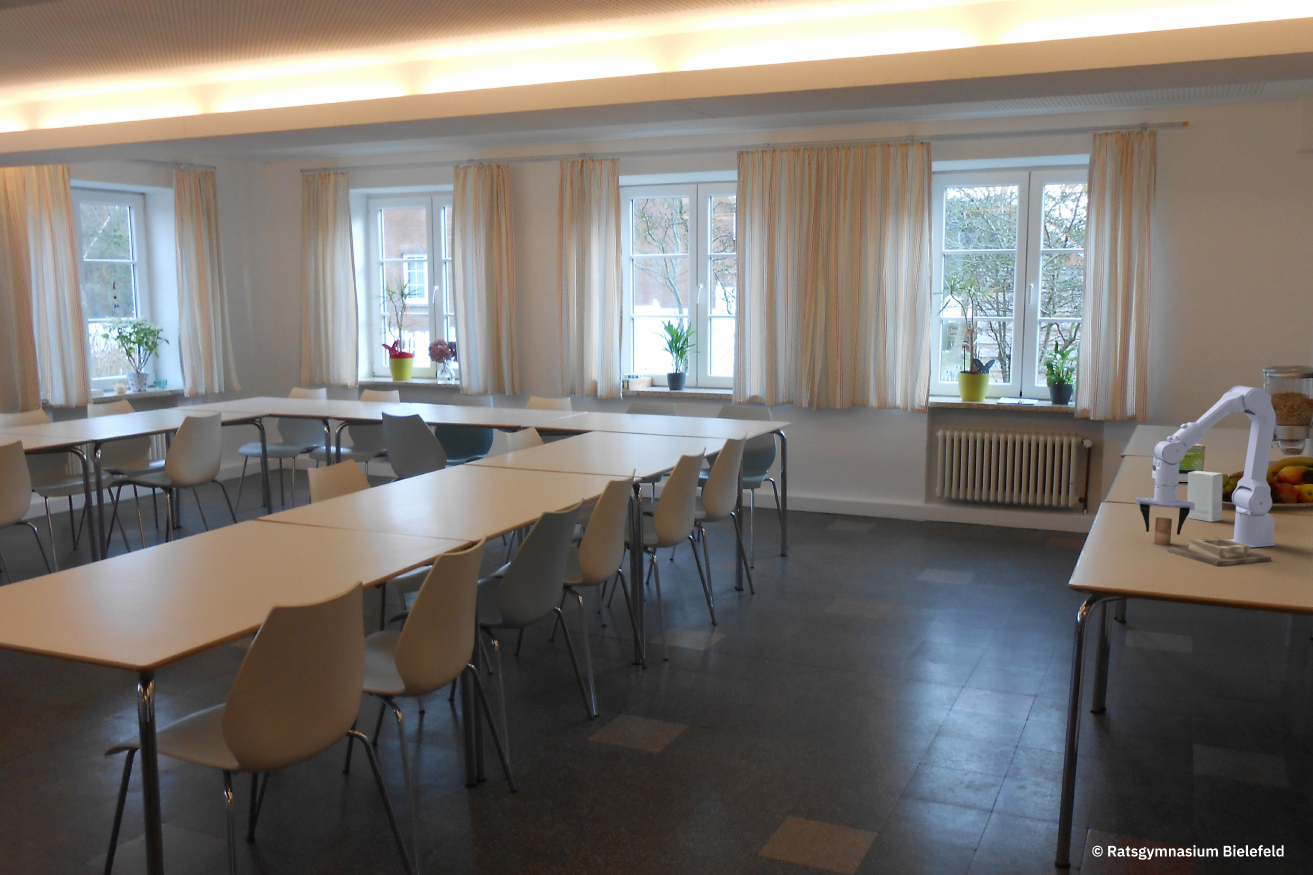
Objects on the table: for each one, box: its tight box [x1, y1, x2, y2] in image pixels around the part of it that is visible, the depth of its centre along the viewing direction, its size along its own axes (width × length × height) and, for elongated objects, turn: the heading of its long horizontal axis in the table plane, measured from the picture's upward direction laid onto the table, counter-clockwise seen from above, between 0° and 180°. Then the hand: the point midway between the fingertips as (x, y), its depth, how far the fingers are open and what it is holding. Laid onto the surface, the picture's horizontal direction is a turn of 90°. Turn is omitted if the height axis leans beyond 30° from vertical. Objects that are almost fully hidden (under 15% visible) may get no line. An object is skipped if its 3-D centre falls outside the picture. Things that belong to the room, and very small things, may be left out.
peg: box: [1154, 516, 1173, 546], centre depth 279 cm, size 4×4×7 cm
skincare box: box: [1186, 470, 1224, 523], centre depth 310 cm, size 8×6×15 cm
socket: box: [1167, 537, 1272, 567], centre depth 265 cm, size 18×16×4 cm
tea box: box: [1151, 440, 1206, 483], centre depth 378 cm, size 15×10×15 cm, turn 80°
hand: (1162, 532), depth 279 cm, fingers open, 7 cm apart
